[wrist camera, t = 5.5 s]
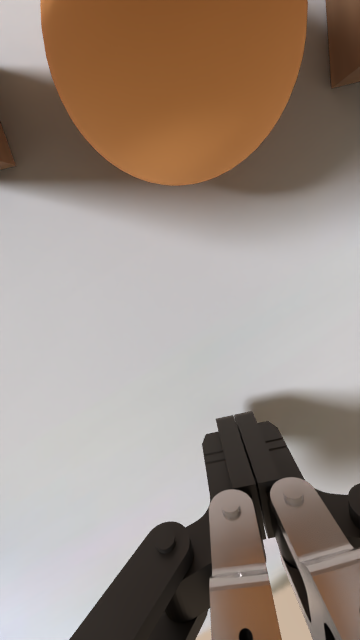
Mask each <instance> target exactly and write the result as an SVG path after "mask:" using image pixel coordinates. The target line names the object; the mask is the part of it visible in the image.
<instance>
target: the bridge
mask: <svg viewBox="0 0 360 640" xmlns="http://www.w3.org/2000/svg"><path fill="white" fill-rule="evenodd" d="M326 13H327V28H328V44H329V59H330V74H331V89H332V88H336V87H340V86H344V85H348V84H352V83H356V82H360V0H326ZM13 166H16V165H15V162H14V159H13V156H12V153H11V150H10V148H9V145H8V142H7V139H6V136H5V133H4V130H3V128H2V125H1V122H0V170H1V169H5V168H9V167H13Z"/></svg>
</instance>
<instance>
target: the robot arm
mask: <svg viewBox="0 0 360 640" xmlns="http://www.w3.org/2000/svg"><path fill="white" fill-rule="evenodd" d="M234 417H235V419H234ZM216 422H217V427H218V431H219V432H215V433H210V434H206V436H205V438H204V441H203V443H202V446H203V453H204V459H205V466H206V472H207V479H208V485H209V492H210V505H209V508H208V510H207V511H206V513H205V514H204V515H203V517H201V518H200V519H199V520H198V521H196V522H195V523H193V524H191V525H189V526H187V527H186V528H185V527H184V526H183V525H181V524H180V523H177V522H165V523H162V524H160V525H158V526H156V527H155V528H154V529H152V530H151V532H150V533H149V534H148V535H147V537H146V538H145V539H144V541H143V542H142V543H141V545H140V546H139V547H138V549H137V550H136V551H135V553H134V554H133V555H132V557H131V558H130V559H129V561H128V562H127V563H126V565H125V566H124V567H123V569H122V570H121V571H120V573H119V574H118V575H117V577H116V578H115V579H114V581H113V582H112V583H111V585H110V586H109V587H108V589H107V590H106V591H105V593H104V594H103V595H102V597H101V598H100V599H99V601H98V602H97V603H96V605H95V606H94V607H93V609H92V610H91V611H90V613H89V614H88V615H87V617H86V618H85V619H84V621H83V622H82V623H81V625H80V626H79V628H78V629H77V630H76V632H75V633H74V634H73V636H72V637H71V638H70V640H195V639H196V637H197V635H198V633H199V631H200V629H201V627H202V625H203V623H204V621H205V618H206V616H207V612H208V609H209V608H210V613H211V633H212V634H211V635H212V640H282V639H281V634H280V629H279V624H278V619H277V615H276V610H275V605H274V600H273V595H272V591H271V586H270V581H269V576H268V572H267V567H266V555H265V550H264V544H263V540H264V539H266V535H265V530H266V533H267V536H268V538H273V537H276V540H277V543H278V546H279V549H280V555H281V561H282V564H283V566H284V569H285V571H286V574H287V576H288V579H289V581H290V583H291V586H292V588H293V591H294V593H295V596H296V598H297V601H298V603H299V605H300V608H301V610H302V613H303V615H304V618H305V620H306V623H307V625H308V627H309V630H310V633H311V636H312V639H313V640H360V484H357V485H355V486H354V487H352V488H351V490H350V491H349V494H348V495H339V494H330V493H325V492H322V491H319V490H317V489H315V488H314V487H313V486H312V485H311V484H310V483H308V482H307V481H305V479H304V478H303V476H302V474H301V472H300V470H299V468H298V466H297V464H296V463H295V461H294V459H293V457H292V455H291V453H290V451H289V449H288V448H287V445H286V443H285V441H284V440H283V437H282V436H281V434H280V432H279V430H278V428H277V427H275V426H274V425H273V424H271V423H270V422H269V421H266V422H261V423H257V421H256V419H255V417H254V414H253V412H252V411H250V412H245V413H241V414H236V415H234V416H233V415H232V416H227V417H222V418H218V419H216ZM263 523H264V524H263ZM264 526H265V530H264Z"/></svg>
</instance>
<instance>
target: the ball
mask: <svg viewBox="0 0 360 640" xmlns="http://www.w3.org/2000/svg"><path fill="white" fill-rule="evenodd" d="M307 6H308V1H307V0H41V26H42V33H43V39H44V45H45V51H46V57H47V61H48V65H49V68H50V72H51V76H52V79H53V81H54V84H55V86H56V89H57V91H58V94H59V96H60V98H61V101H62V103H63V105H64V107H65V108H66V110H67V112H68V114H69V116H70V118H71V120H72V121H73V123H74V124H75V125H76V127H77V128H78V130H79V131H80V133H81V134H82V135H83V136H84V138H85V139H86V140H87V141H88V142H89V143H90V144H91V146H92V147H93V148H94V149H95V150H96V151H97V152H98V153H99V154H101V155H102V156H103V157H104V158H105V159H106V160H107V161H109V162H110V163H111V164H113V165H114V166H116V167H117V168H119V169H120V170H122V171H124V172H126V173H128V174H130V175H132V176H134V177H136V178H139V179H142V180H145V181H147V182H151V183H156V184H161V185H175V186H180V185H190V184H196V183H200V182H203V181H207V180H210V179H213V178H215V177H218V176H220V175H221V174H223V173H225V172H227V171H229V170H231V169H232V168H234V167H235V166H237V165H238V164H239V163H241V162H242V161H243V160H245V159H246V158H247V157H248V156H249V155H250V154H251V153H252V152H253V151H255V150H256V149H257V148H258V146H259V145H260V144H261V143H262V142H263V140H264V139H265V138H266V137H267V136H268V135H269V133H270V132H271V130H272V129H273V127H274V126H275V124H276V123H277V121H278V120H279V118H280V116H281V114H282V112H283V110H284V108H285V107H286V105H287V103H288V101H289V98H290V95H291V93H292V90H293V88H294V85H295V82H296V80H297V77H298V73H299V69H300V65H301V62H302V58H303V52H304V46H305V39H306V29H307Z"/></svg>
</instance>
